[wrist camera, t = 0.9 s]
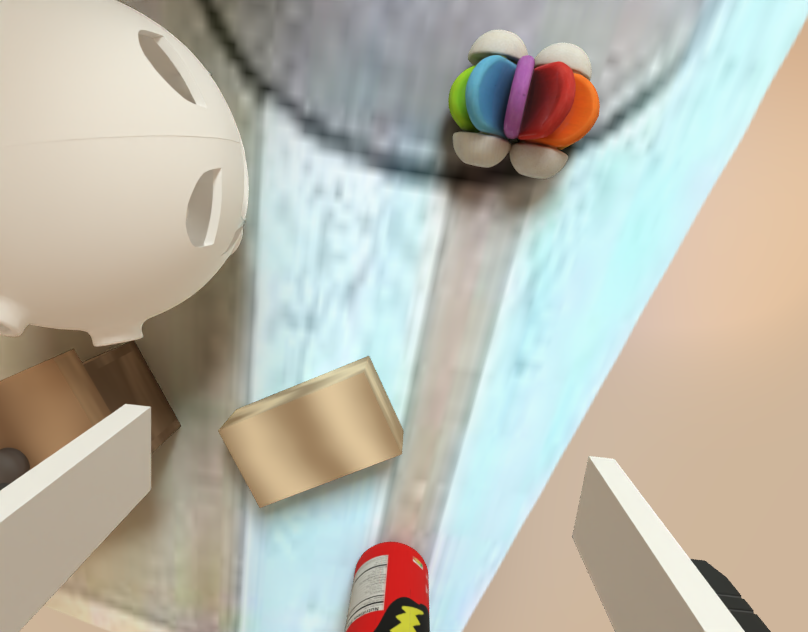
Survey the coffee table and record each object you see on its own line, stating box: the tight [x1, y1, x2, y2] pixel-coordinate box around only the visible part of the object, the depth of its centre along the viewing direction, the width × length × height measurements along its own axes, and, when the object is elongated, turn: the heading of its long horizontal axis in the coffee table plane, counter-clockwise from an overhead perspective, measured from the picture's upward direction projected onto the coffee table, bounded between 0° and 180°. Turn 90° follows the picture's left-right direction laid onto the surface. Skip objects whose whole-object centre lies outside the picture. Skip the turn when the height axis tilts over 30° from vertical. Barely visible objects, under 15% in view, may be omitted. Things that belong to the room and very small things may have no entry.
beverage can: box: [345, 542, 430, 632], centre depth 39 cm, size 6×6×12 cm
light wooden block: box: [218, 356, 403, 508], centre depth 40 cm, size 12×7×4 cm, turn 113°
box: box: [82, 340, 181, 454], centre depth 39 cm, size 12×8×7 cm, turn 113°
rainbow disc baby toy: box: [449, 30, 600, 179], centre depth 33 cm, size 8×10×7 cm
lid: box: [0, 349, 111, 484], centre depth 34 cm, size 13×10×3 cm
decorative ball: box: [0, 0, 249, 347], centre depth 29 cm, size 20×17×20 cm
